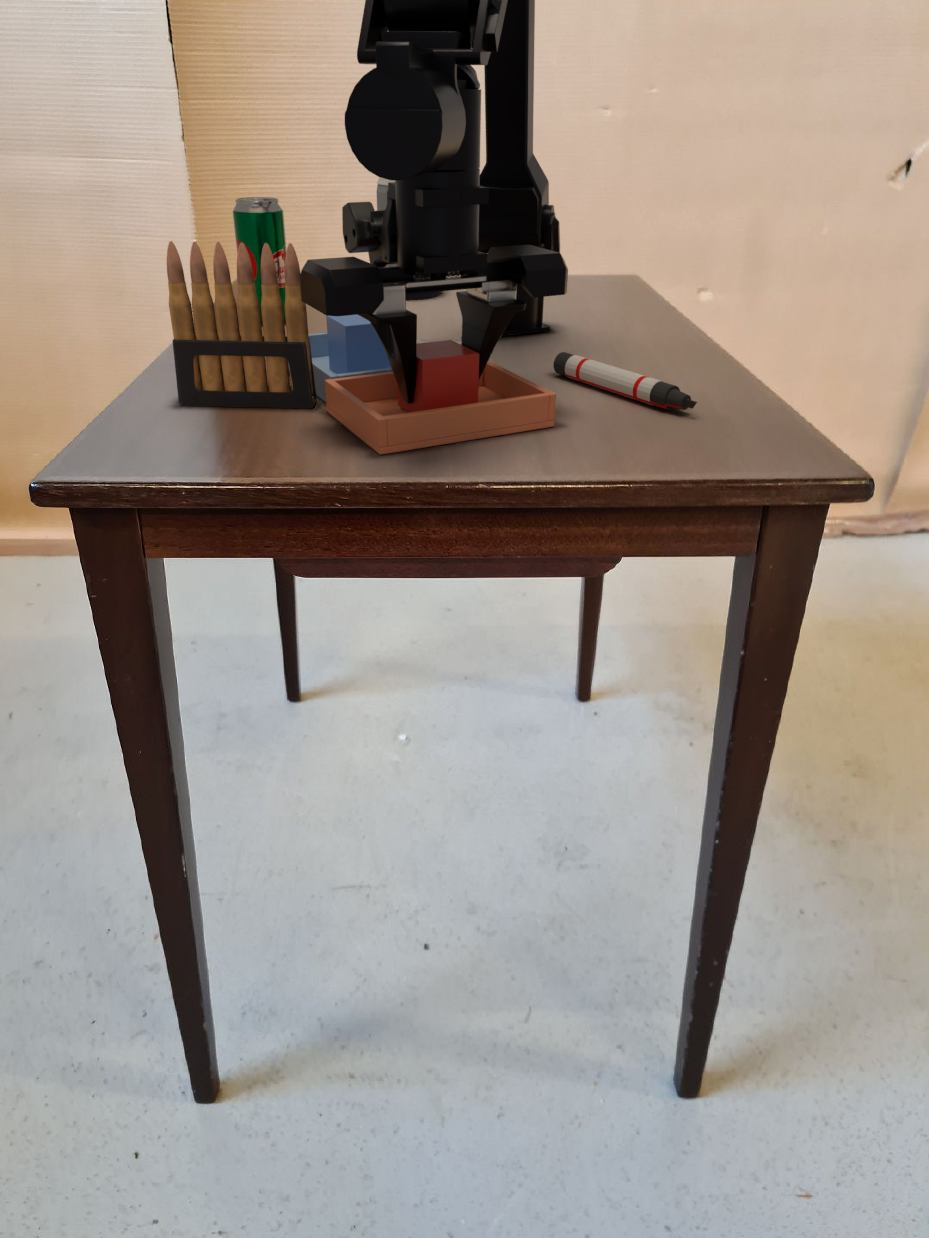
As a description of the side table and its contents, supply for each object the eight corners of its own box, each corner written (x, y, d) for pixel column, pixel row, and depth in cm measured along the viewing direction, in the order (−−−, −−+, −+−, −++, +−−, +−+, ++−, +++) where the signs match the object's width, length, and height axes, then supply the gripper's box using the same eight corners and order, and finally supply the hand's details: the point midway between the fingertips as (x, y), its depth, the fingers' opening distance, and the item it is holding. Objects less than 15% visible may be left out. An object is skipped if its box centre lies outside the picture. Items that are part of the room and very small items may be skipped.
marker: (552, 376, 80) (553, 353, 79) (568, 372, 81) (570, 350, 80) (686, 420, 69) (690, 395, 68) (703, 416, 70) (707, 391, 69)
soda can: (282, 327, 95) (270, 202, 89) (237, 324, 96) (222, 201, 89) (299, 317, 99) (289, 197, 93) (255, 314, 100) (243, 196, 94)
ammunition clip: (178, 405, 71) (153, 243, 65) (185, 398, 73) (162, 239, 67) (313, 408, 71) (300, 245, 65) (317, 401, 73) (305, 241, 66)
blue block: (377, 363, 81) (375, 310, 79) (398, 375, 77) (396, 320, 75) (329, 368, 79) (325, 314, 77) (348, 382, 76) (344, 326, 73)
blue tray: (388, 352, 86) (387, 326, 85) (455, 391, 75) (455, 361, 74) (278, 365, 82) (276, 337, 81) (332, 408, 71) (330, 376, 70)
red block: (451, 398, 71) (451, 339, 69) (478, 414, 68) (479, 353, 66) (397, 405, 70) (396, 345, 67) (423, 423, 66) (422, 360, 64)
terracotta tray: (486, 389, 76) (486, 359, 75) (554, 426, 68) (556, 393, 66) (326, 411, 70) (324, 379, 69) (379, 455, 62) (378, 419, 61)
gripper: (500, 158, 70) (494, 359, 78) (266, 163, 63) (286, 385, 71) (579, 168, 62) (564, 393, 70) (320, 176, 54) (336, 427, 62)
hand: (438, 397), depth 68 cm, fingers closed on red block, 4 cm apart
